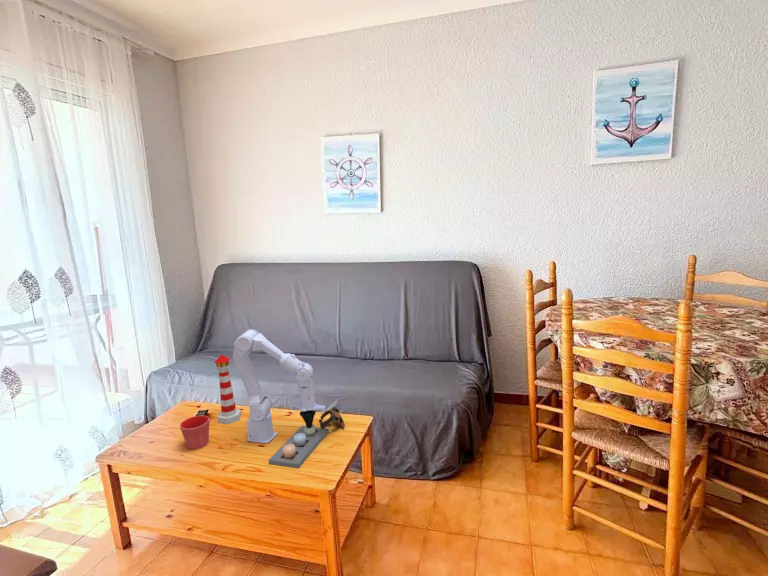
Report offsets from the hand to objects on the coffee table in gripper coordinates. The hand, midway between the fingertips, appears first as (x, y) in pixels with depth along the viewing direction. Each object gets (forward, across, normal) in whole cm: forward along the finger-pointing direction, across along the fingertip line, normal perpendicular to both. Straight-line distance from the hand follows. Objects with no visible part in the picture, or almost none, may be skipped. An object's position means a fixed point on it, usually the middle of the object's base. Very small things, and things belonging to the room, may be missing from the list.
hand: (309, 426), depth 165 cm
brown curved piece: (+4, +6, +9) cm, 12 cm away
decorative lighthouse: (+4, -43, +6) cm, 44 cm away
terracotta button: (+3, 0, -16) cm, 16 cm away
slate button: (+2, 0, -8) cm, 8 cm away
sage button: (+3, 0, 0) cm, 3 cm away
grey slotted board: (+4, 0, -8) cm, 9 cm away
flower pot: (+4, -42, -15) cm, 45 cm away
